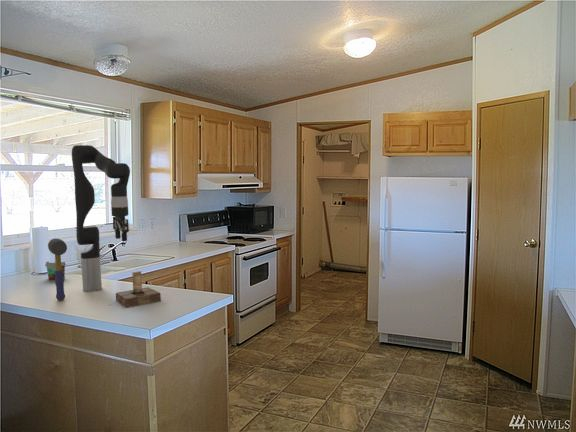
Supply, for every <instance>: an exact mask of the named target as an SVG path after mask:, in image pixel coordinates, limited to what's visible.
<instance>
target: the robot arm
mask: <svg viewBox="0 0 576 432" xmlns="http://www.w3.org/2000/svg"><path fill="white" fill-rule="evenodd" d="M71 161H72V169H73V176H74V202H75V213H76V234H75V235H76V242H77V245H79V246H87V245H88V246H89V245H92V246H91V247H90V248H88V249H85V250H84V251H82V252H81V253H80V261H81V262H80V263H81V276H82V291H83V292H94V291H100V290H102V288H103V286H102V285H103V283H102V268H101V267H102V266H101V253H100V252H101V251H100V249H101V247H100V230H99V227H98V226H84V224H85V220H86V218H87V217H88V214H90V211H91V210H92V208H93V207H94V205H95V201H96V198H95V197H96V196H95V188H94V186H93V185H92V183H91V181H89V179H88V178H87V177H86V176H87V175H86V173H85V172H84V168H83V165H85V164H94V165H95V167H96V168H97V169H98V170H100V171H101V172H103V173H105V175H106V176H107V178H110V179H115V180H116V179H119V180H118V181H117V182H115V183H112V184H111V186H110V196H111V197H110V198H111V199H110V206H111V207H110V209H111V216H112V229H113V230H114V232H115V233H114V235H115V239H117V240H118V239H119V240H120V239H121V241H122V242H127V241H128V233H129V232H130V229H129V227H130V226H129V219H128V218H126V217H128V216H129V200H128V183H129V179H130V176H131V170H130V167H129V165H128V163H125V162H122V163H116V161H115V160H113V159H112V158H109V157H107V156H105V155H104V154H103V153H101V152H100V151H99V149H97V148H96V147H95V146H93V145H90V144H89V145H88V144H87V145H77V144H76V145H73V146H72V148H71Z"/></svg>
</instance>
